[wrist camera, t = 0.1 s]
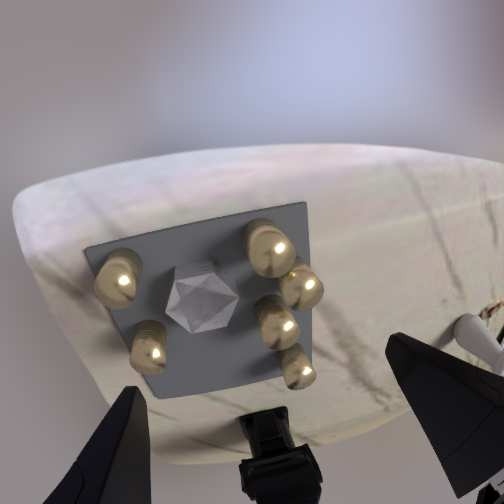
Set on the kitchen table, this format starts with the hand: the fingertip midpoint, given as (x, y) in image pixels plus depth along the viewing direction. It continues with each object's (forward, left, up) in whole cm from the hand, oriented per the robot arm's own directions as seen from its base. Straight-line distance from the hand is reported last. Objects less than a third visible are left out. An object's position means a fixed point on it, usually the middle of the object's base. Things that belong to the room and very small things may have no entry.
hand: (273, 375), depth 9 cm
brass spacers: (-8, +2, -14) cm, 16 cm away
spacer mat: (-9, +2, -15) cm, 17 cm away
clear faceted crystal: (-5, +3, -14) cm, 15 cm away
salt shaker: (-24, -35, -15) cm, 45 cm away
